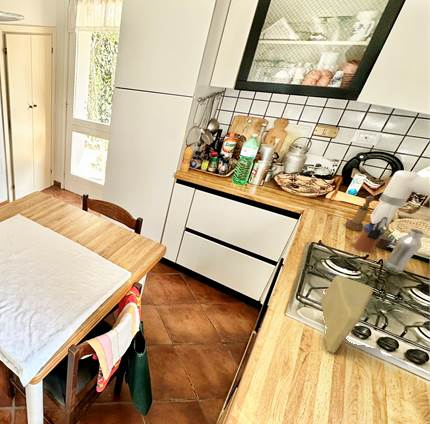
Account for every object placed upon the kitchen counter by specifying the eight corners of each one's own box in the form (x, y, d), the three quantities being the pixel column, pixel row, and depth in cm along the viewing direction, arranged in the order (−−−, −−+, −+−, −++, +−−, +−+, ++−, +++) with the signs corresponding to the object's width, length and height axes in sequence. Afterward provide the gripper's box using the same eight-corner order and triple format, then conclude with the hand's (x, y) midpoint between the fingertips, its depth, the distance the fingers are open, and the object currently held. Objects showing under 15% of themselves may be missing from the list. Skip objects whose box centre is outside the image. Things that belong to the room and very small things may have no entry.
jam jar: (371, 247, 143) (383, 228, 138) (373, 254, 138) (385, 235, 133) (352, 242, 146) (363, 224, 141) (354, 248, 141) (365, 230, 136)
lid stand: (386, 245, 144) (391, 237, 142) (388, 249, 141) (393, 241, 139) (373, 242, 147) (378, 234, 145) (374, 246, 144) (379, 238, 141)
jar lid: (359, 228, 139) (361, 225, 138) (368, 226, 141) (370, 223, 140) (377, 236, 134) (379, 233, 133) (387, 233, 136) (388, 230, 135)
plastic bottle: (393, 268, 129) (422, 228, 119) (403, 278, 123) (434, 237, 114) (374, 265, 131) (401, 225, 121) (383, 275, 125) (412, 234, 116)
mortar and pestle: (365, 231, 156) (384, 199, 147) (352, 230, 156) (370, 199, 147) (354, 224, 161) (371, 193, 153) (341, 224, 161) (358, 193, 153)
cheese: (351, 363, 90) (378, 328, 83) (310, 343, 96) (332, 309, 88) (352, 319, 105) (375, 286, 97) (317, 304, 110) (336, 272, 103)
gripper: (378, 190, 138) (359, 224, 146) (382, 204, 126) (361, 239, 134) (402, 195, 134) (380, 229, 142) (408, 209, 122) (384, 246, 130)
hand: (371, 234), depth 138 cm, fingers closed on jar lid, 6 cm apart
